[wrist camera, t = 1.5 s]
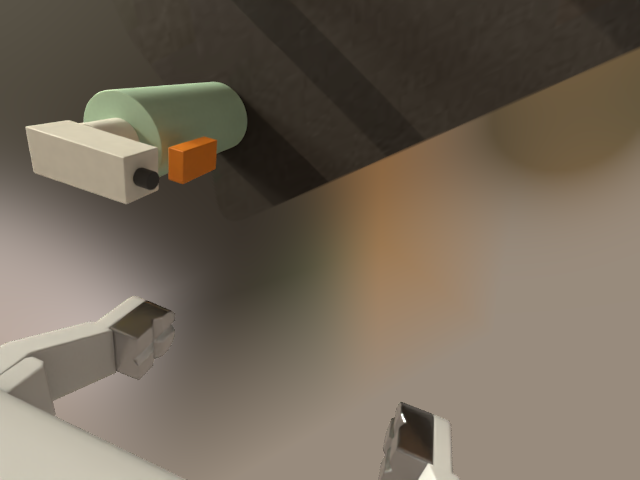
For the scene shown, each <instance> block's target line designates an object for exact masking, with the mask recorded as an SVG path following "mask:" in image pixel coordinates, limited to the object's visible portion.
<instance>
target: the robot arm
mask: <svg viewBox="0 0 640 480" xmlns="http://www.w3.org/2000/svg"><path fill="white" fill-rule="evenodd" d="M174 321H175V313H174V312H172V311H171V310H168V309H166V308H163V307H161V306H159V305H157V304H154V303H152V302H149V301H147V300H144V299H142V298H140V297H137V296H133V297H130V298H128V299H127V300H126V301H124V302H123V303H122V304H120V305H119V306H117V307H116V308H115V309H113V310H112V311H111V312H109V313H108V314H106V315H105V316H104V317H102V318H101V319H100V320H98V321H97V322H96V323H94V322H87V323H83V324H79V325H75V326H71V327H67V328H63V329H59V330H55V331H51V332H47V333H43V334H39V335H35V336H31V337H27V338H23V339H19V340H15V341H11V342H7V343H5V344H3V345H2V346H0V480H187V479H184V478H183V477H180V476H178V475H176V474H174V473H172V472H170V471H168V470H166V469H164V468H162V467H159V466H158V465H155V464H153V463H151V462H149V461H147V460H145V459H143V458H141V457H139V456H137V455H135V454H133V453H130V452H128V451H126V450H124V449H122V448H120V447H118V446H116V445H114V444H112V443H110V442H108V441H106V440H104V439H101V438H99V437H97V436H95V435H93V434H91V433H89V432H87V431H85V430H83V429H81V428H79V427H77V426H74V425H72V424H70V423H68V422H66V421H64V420H62V419H60V418H58V417H56V416H55V409H54V405H53V401H54V400H56V399H58V398H60V397H63V396H65V395H67V394H69V393H72V392H74V391H76V390H78V389H80V388H83V387H85V386H87V385H89V384H91V383H94V382H96V381H98V380H101V379H103V378H105V377H107V376H109V375H112V374H114V373H116V371H117V372H120V373H122V374H125V375H127V376H130V377H132V378H135V379H137V380H139V379H141V378H142V376H143V375H145V374H146V372H147V371H148V370H149V369H150V368H151V367H152V366H153V362H154V359H156V358H159V357H161V356H163V355H164V354H165V353H166V352H167V351H168V349H169V347H170V346H171V344H172V342H173V339H174V335H175V330H174V328H173V326H172V325H171V324H172V323H173V322H174ZM451 438H452V437H451V423H450V421H449V420H446V419H444V418H441V417H438V416H436V415H433V414H431V413H429V412H426V411H424V410H421V409H418V408H416V407H413V406H410V405H408V404H405V403H403V402H400V403H399V404H398V407H397V408H396V414H395V417H394V418H392V419H391V421H390V424H389V426H388V429H387V432H386V436H385V440H384V446H383V451H384V453H385V456H384V458H383V460H382V462H381V466H380V472H379V480H460V478H459V477H458V476H457V475H455V474H453V467H452V466H453V465H452V439H451Z"/></svg>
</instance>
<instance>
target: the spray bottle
mask: <svg viewBox="0 0 640 480" xmlns="http://www.w3.org/2000/svg"><path fill="white" fill-rule="evenodd" d="M246 129H247V114H246V110H245V107H244V104H243V102H242V100H241V99H240V97H239V96H238V95H237V93H236V92H235V91H234V90H232V89H231V88H230V87H228V86H227V85H225V84H222V83H218V82H206V83H193V84H179V85H166V86H154V87H140V88H127V89H114V90H105V91H102V92H99V93H97V94H96V95H95V96H94V97H92V98H91V100H90V101H89V103H88V104H87V107H86V109H85V114H84V123H80V124H79V123H76V122H73V121H69V120H67V121H60V122H53V123H46V124H40V125H33V126H27V127H26V133H27V138H28V143H29V148H30V154H31V158H32V164H33V169H34V173H36V174H39V175H42V176H45V177H48V178H51V179H54V180H57V181H60V182H63V183H66V184H69V185H71V186H75V187H77V188H80V189H83V190H86V191H89V192H92V193H95V194H98V195H101V196H104V197H107V198H110V199H113V200H115V201H118V202H121V203H124V204H128V203H130V202H133V201H135V200H137V199H139V198H142V197H144V196H146V195H148V194H151V193H153V192H155V191H157V190H158V189H159V186H158V183H159V177H160V176H162V175H165V174H167V173H169V147H171V146H174V145H178V144H181V143H184V142H187V141H191V140H194V139H197V138H201V137H204V136H205V137H208V138H211V139H215V140H217V152H216V154H217V153H219V152H222V151H224V150H227V149H229V148H232V147H234V146H236V145H237V144H238V143H239V142H240V141H241V140H242V138H243V137H244V135H245V132H246Z"/></svg>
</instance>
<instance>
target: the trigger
mask: <svg viewBox="0 0 640 480" xmlns="http://www.w3.org/2000/svg"><path fill="white" fill-rule="evenodd" d="M216 152H217V140H215V139H211V138H208V137H205V136H204V137H201V138H197V139H194V140H191V141H187V142H184V143H181V144H178V145H174V146H171V147H169V180H172V181H175V182H178V183H181V184H184V183H186V182H188V181H191V180H193V179H195V178H197V177H199V176H201V175H203V174H205V173H208V172H210V171H212V170H214V169H215V167H216Z"/></svg>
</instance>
